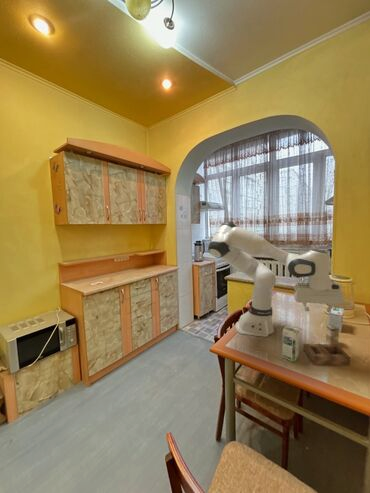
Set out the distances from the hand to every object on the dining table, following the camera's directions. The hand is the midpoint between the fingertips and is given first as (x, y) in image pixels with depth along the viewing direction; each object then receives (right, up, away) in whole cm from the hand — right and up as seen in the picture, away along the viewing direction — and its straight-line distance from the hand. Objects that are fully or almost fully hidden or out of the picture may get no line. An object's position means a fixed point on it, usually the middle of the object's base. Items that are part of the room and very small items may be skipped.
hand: (317, 311), depth 106 cm
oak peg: (+14, -20, +11) cm, 27 cm away
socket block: (+3, -22, -1) cm, 22 cm away
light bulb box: (+27, -18, +26) cm, 42 cm away
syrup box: (-13, -23, +1) cm, 26 cm away
